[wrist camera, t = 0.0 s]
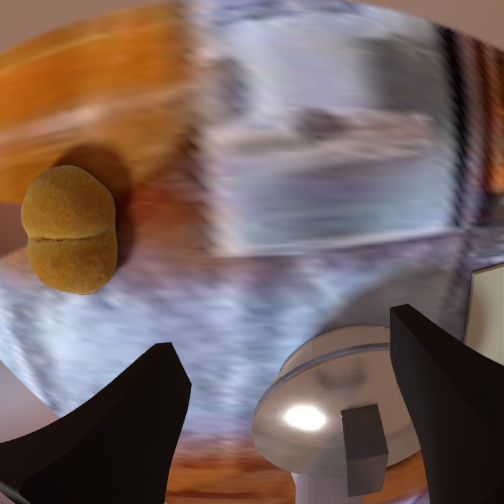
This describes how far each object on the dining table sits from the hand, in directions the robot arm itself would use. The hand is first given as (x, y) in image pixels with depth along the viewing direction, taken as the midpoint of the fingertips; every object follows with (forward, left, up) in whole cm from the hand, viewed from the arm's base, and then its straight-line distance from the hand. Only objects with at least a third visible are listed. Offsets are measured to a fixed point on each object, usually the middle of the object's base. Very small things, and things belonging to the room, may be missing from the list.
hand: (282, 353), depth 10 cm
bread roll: (+4, +14, -11) cm, 18 cm away
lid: (-13, -3, -6) cm, 15 cm away
